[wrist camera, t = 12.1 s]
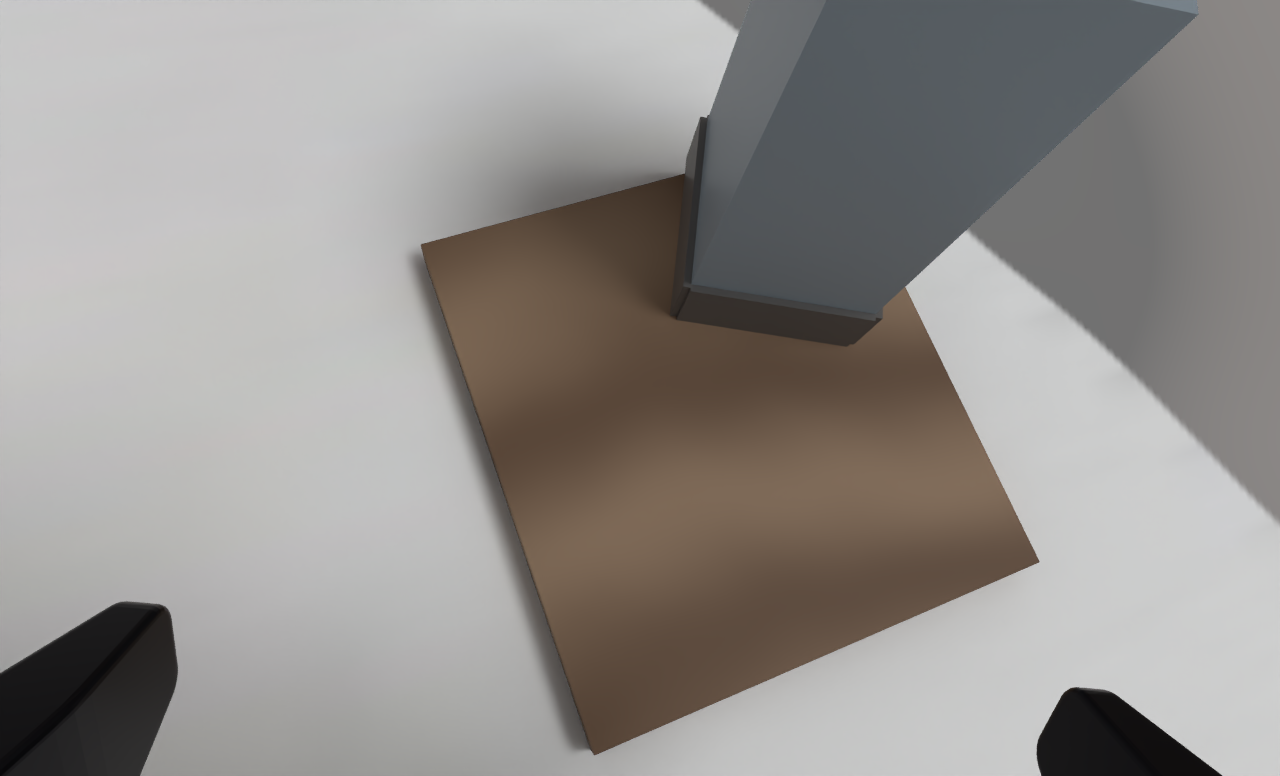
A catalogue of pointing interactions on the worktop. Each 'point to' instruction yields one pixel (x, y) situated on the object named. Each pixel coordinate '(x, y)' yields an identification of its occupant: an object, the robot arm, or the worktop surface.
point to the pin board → (706, 465)
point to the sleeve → (881, 144)
